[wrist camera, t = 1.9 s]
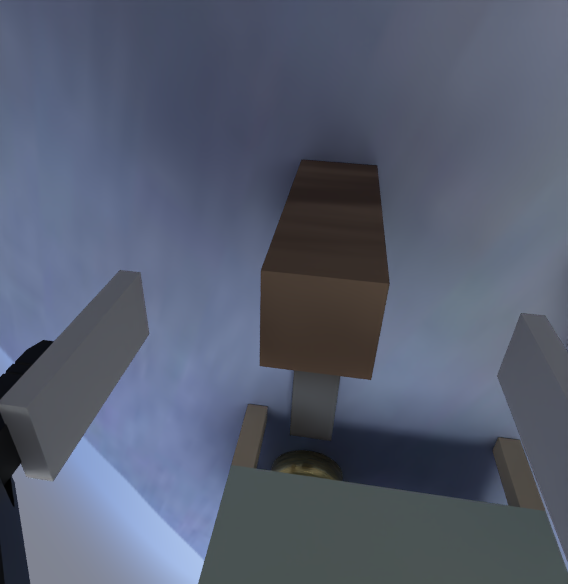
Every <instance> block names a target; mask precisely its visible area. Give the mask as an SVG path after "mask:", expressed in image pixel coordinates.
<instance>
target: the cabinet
mask: <svg viewBox="0 0 568 584" xmlns="http://www.w3.org/2000/svg"><path fill="white" fill-rule="evenodd" d="M266 423H267V406H260V405H252V404H248V406H247V410H246V413H245V417H244V421H243V424H242V428H241V431H240V435H239V439H238V442H237V446H236V449H235V453H234V457H233V460H232V464H231V467H230V471H229V475H228V478H227V482H226V485H225V489H224V493H223V496H222V500H221V503H220V507H219V511H218V514H217V518H216V521H215V525H214V529H213V532H212V536H211V539H210V543H209V547H208V550H207V554H206V557H205V561H204V565H203V568H202V572H201V575H200V579H199V583H198V584H568V572H567V569H566V566H565V563H564V561H563V558H562V555H561V552H560V550H559V547H558V544H557V541H556V539H555V536H554V533H553V530H552V528H551V525H550V522H549V519H548V517H547V514H546V511H545V508H544V505H543V503H542V500H541V497H540V494H539V492H538V489H537V486H536V483H535V481H534V478H533V475H532V472H531V470H530V467H529V464H528V461H527V459H526V456H525V453H524V450H523V448H522V445H521V442H520V440H515V439H508V438H500V437H498V439H497V441H496V444H495V446H494V448H493V454H494V458H495V461H496V465H497V468H498V471H499V475H500V478H501V482H502V485H503V488H504V492H505V495H506V499H507V502H508V505H509V506H507V505H501V504H494V503H487V502H480V501H473V500H466V499H460V498H453V497H446V496H439V495H432V494H426V493H419V492H412V491H405V490H398V489H392V488H385V487H378V486H371V485H364V484H358V483H351V482H344V481H337V480H330V479H324V478H317V477H310V476H303V475H296V474H289V473H283V472H276V471H269V470H262V469H256V468H257V463H258V459H259V454H260V450H261V445H262V441H263V436H264V432H265V427H266Z"/></svg>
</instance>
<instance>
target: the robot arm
mask: <svg viewBox="0 0 568 584" xmlns="http://www.w3.org/2000/svg"><path fill="white" fill-rule="evenodd" d="M148 335H149V328H148V321H147V315H146V308H145V301H144V294H143V287H142V280H141V273H140V272H133V271H123V270H120V271H119V272H118V273H117V274H116V275H115V276H114V277H113V278H112V279H111V280H110V282H109V283H108V284H107V285H106V286H105V287H104V288H103V289H102V290H101V291H100V292H99V293H98V294H97V296H96V297H95V298H94V299H93V300H92V301H91V302H90V303H89V304H88V305H87V306H86V307H85V309H84V310H83V311H82V312H81V313H80V314H79V315H78V316H77V317H76V318H75V319H74V320H73V322H72V323H71V324H70V325H69V326H68V327H67V328H66V329H65V330H64V331H63V332H62V333H61V335H60V336H59V337H58V338H57V339H56V340H55V341H47V340H43V341H41V342H39V343H37V344H36V345H34V346H32V347H31V348H29V349H27V350H26V351H25V352H24V353H23V354H22V355H21V356H20V357H19V358H18V359H17V360H16V361H15V364H12V365H11V366H10V367H9V368H8V369H7V370H6V373H5V374H2V376H1V377H0V584H30V579H29V572H28V566H27V560H26V553H25V547H24V540H23V534H22V527H21V521H20V515H19V508H18V502H17V495H16V488H15V482H14V480H13V478H12V474H13V473H14V472H15V470H16V469H17V468H18V466H19V465H20V464H21V465H22V467H23V470H24V472H25V475H26V477H28V478H35V479H41V480H47V481H54V480H55V478H56V476H57V475H58V473H59V472H60V470H61V469H62V467H63V466H64V464H65V463H66V461H67V460H68V458H69V457H70V455H71V453H72V452H73V450H74V449H75V447H76V446H77V444H78V442H79V441H80V440H81V438H82V437H83V435H84V433H85V432H86V430H87V429H88V427H89V426H90V424H91V423H92V421H93V420H94V418H95V417H96V415H97V413H98V412H99V410H100V409H101V407H102V406H103V404H104V403H105V401H106V400H107V398H108V397H109V395H110V393H111V392H112V390H113V389H114V387H115V386H116V384H117V383H118V381H119V380H120V378H121V377H122V375H123V373H124V372H125V370H126V369H127V367H128V366H129V364H130V363H131V361H132V360H133V358H134V357H135V355H136V353H137V352H138V350H139V349H140V347H141V346H142V344H143V343H144V341H145V340H146V338H147V337H148ZM497 377H498V379H499V382H500V385H501V387H502V390H503V393H504V395H505V398H506V400H507V403H508V406H509V408H510V411H511V414H512V416H513V419H514V422H515V424H516V427H517V429H518V432H519V435H520V437H521V440H522V443H523V445H524V448H525V451H526V453H527V456H528V458H529V461H530V464H531V466H532V469H533V472H534V474H535V477H536V480H537V482H538V485H539V487H540V490H541V493H542V495H543V498H544V501H545V503H546V506H547V509H548V511H549V514H550V516H551V519H552V522H553V524H554V527H555V530H556V532H557V535H558V538H559V540H560V543H561V545H562V548H563V551H564V553H565V556H566V559H567V561H568V352H567V350H566V349H565V347H564V346H563V344H562V342H561V341H560V339H559V337H558V336H557V334H556V333H555V331H554V329H553V328H552V326H551V324H550V323H549V321H548V319H547V318H546V316H544V315H534V314H525V313H521V314H520V317H519V320H518V322H517V325H516V327H515V330H514V333H513V335H512V338H511V341H510V343H509V346H508V349H507V351H506V354H505V356H504V359H503V362H502V364H501V367H500V370H499V372H498V375H497Z"/></svg>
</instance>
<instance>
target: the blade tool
mask: <svg viewBox="0 0 568 584" xmlns="http://www.w3.org/2000/svg"><path fill="white" fill-rule="evenodd" d="M389 284H390V283H389V274H388V264H387V255H386V245H385V235H384V226H383V216H382V206H381V197H380V187H379V177H378V168H377V166H376V165H364V164H351V163H339V162H326V161H313V160H301V163H300V165H299V168H298V171H297V174H296V176H295V179H294V182H293V184H292V187H291V190H290V193H289V195H288V198H287V201H286V204H285V206H284V209H283V212H282V214H281V217H280V220H279V223H278V225H277V228H276V231H275V233H274V236H273V239H272V242H271V244H270V247H269V250H268V253H267V255H266V258H265V261H264V263H263V266H262V269H261V304H260V366H264V367H272V368H280V369H288V370H294V380H293V395H292V410H291V425H290V435H292V436H300V437H307V438H314V439H321V440H328V441H331V438H332V431H333V423H334V416H335V409H336V402H337V395H338V388H339V381H340V376H344V377H352V378H360V379H368V380H371V378H372V373H373V367H374V362H375V357H376V352H377V347H378V341H379V336H380V331H381V326H382V321H383V315H384V310H385V305H386V300H387V294H388V289H389Z"/></svg>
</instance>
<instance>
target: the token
mask: <svg viewBox="0 0 568 584" xmlns="http://www.w3.org/2000/svg"><path fill="white" fill-rule="evenodd" d="M271 471H276V472H283V473H289V474H296V475H303V476H310V477H317V478H324V479H330V480H337V481H342V479H343V475H342V471H341V469H340V467H339V466H338V465H337V464H336V463H335V462H334V461H333V460H332V459H330V458H329V457H327V456H325V455H323V454H320V453H317V452H313V451H306V450H297V451H291V452H287V453H284V454H282V455H281V456H279V457H278V458H277V459H276V460H275V461H274V463H273V465H272V469H271Z"/></svg>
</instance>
